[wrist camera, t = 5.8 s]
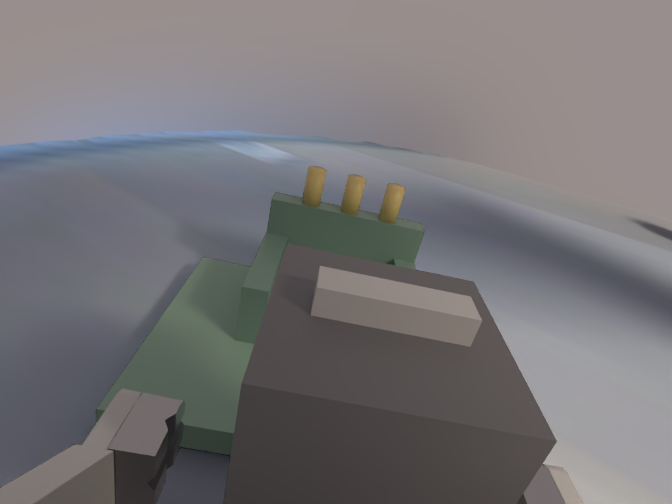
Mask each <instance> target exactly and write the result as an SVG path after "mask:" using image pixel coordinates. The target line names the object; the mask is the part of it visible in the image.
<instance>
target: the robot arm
mask: <svg viewBox="0 0 672 504" xmlns="http://www.w3.org/2000/svg"><path fill="white" fill-rule="evenodd" d="M184 412H185V401H182V400H178V399H173V398H168V397H163V396H158V395H153V394H149V393H143V392H138V391H132V390H127V389H122V390H120V391H119V392H118V393H117V394H116V395H115V397H114V398H113V400H112V401H111V403H110V404H109V406H108V407H107V409H106V410H105V411H104V413H103V414H102V416H101V417H100V419H99V420H98V422H97V423H96V425H95V426H94V428H93V429H92V431H91V432H90V433H89V435H88V436H87V438H86V439H85V441H84V442H83V444H82V445H77V444H74V445H73V446H71V447H69V448H68V449H66V450H64V451H62V452H61V453H59V454H57V455H56V456H54V457H52V458H50V459H49V460H47V461H45V462H44V463H42V464H40V465H38V466H37V467H35V468H33V469H32V470H30V471H28V472H26V473H25V474H23V475H21V476H20V477H18V478H16V479H14V480H13V481H11V482H9V483H8V484H6V485H4V486H2V487H1V488H0V504H156V503H157V501H158V498H159V496H160V494H161V491H162V489H163V487H164V485H165V482H166V469H168V468H169V467H170V466H172V465H173V463H174V461H175V459H176V456H177V454H178V451H179V447H180V444H181V441H182V436H183V430H184V424H183V422H182V421H181V419H182V417H183V414H184ZM517 504H583V502H582V500H581V498H580V496H579V494H578V492H577V490H576V488H575V486H574V485H573V483H572V481H571V479H570V477H569V475H568V473H567V472H566V471H565V470H564V469H563V468H562V467H557V466H551V465H545V464H542V465H541V467H540V468H539V470H538V471H537V473H536V475H535V476H534V478H533V479H532V481H531V482H530V484H529V485H528V487H527V488H526V490H525V492H524V493H523V495H522V496H521V498H520V499H519V501H518V502H517Z"/></svg>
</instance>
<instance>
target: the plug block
mask: <svg viewBox="0 0 672 504" xmlns="http://www.w3.org/2000/svg"><path fill="white" fill-rule="evenodd" d="M556 442H557V441H556V439H555V437H554V435H553V433H552V431H551V429H550V427H549V425H548V423H547V422H546V420H545V418H544V416H543V414H542V412H541V410H540V408H539V406H538V404H537V402H536V400H535V399H534V397H533V395H532V393H531V391H530V389H529V387H528V385H527V383H526V381H525V379H524V377H523V376H522V374H521V372H520V370H519V368H518V366H517V364H516V362H515V360H514V358H513V356H512V354H511V352H510V351H509V349H508V347H507V345H506V343H505V341H504V339H503V337H502V335H501V333H500V331H499V329H498V328H497V326H496V324H495V322H494V320H493V318H492V316H491V314H490V312H489V310H488V308H487V306H486V304H485V303H484V301H483V299H482V297H481V295H480V293H479V291H478V289H477V287H476V285H475V283H474V282H472V281H467V280H463V279H458V278H453V277H448V276H443V275H438V274H434V273H429V272H424V271H419V270H414V269H410V268H405V267H400V266H395V265H390V264H385V263H381V262H376V261H371V260H366V259H361V258H356V257H352V256H347V255H342V254H337V253H332V252H327V251H323V250H318V249H313V248H308V247H303V246H298V245H294V244H289V243H287V245H286V249H285V252H284V255H283V258H282V261H281V264H280V267H279V270H278V273H277V276H276V279H275V282H274V285H273V288H272V291H271V295H270V298H269V301H268V304H267V307H266V310H265V313H264V316H263V319H262V322H261V325H260V328H259V331H258V334H257V337H256V340H255V344H254V347H253V350H252V353H251V356H250V359H249V362H248V365H247V368H246V371H245V374H244V377H243V380H242V384H241V390H240V397H239V403H238V410H237V417H236V423H235V430H234V436H233V443H232V450H231V456H230V463H229V469H228V476H227V483H226V489H225V496H224V503H223V504H517V502H518V501H519V499H520V498H521V496H522V495H523V493H524V492H525V490H526V488H527V487H528V485H529V484H530V482H531V481H532V479H533V478H534V476H535V475H536V473H537V471H538V470H539V468H540V467H541V465H542V464H543V462H544V461H545V459H546V457H547V456H548V454H549V453H550V451H551V450H552V448H553V447H554V445H555V443H556Z"/></svg>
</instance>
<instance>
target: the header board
mask: <svg viewBox="0 0 672 504" xmlns="http://www.w3.org/2000/svg"><path fill="white" fill-rule="evenodd" d="M326 172H327V170H326V169H324V168H321V167H318V166H309V167H308V172H307V177H306V183H305V188H304V193H303V198H301V197H296V196H291V195H287V194H282V193H277V192H275V194H274V196H273V198H272V201H271V208H270V215H269V221H268V228H267V233H266V235H265V237H264V239H263V241H262V244H261V246H260V248H259V250H258V252H257V255H256V257H255V259H254V261H253V263H252V266H251V267H250V266H245V265H240V264H235V263H230V262H225V261H220V260H215V259H210V258H205V257H203V258H202V260H201V261H200V262H199V264H198V265H197V267H196V268H195V269H194V271H193V272H192V274H191V275H190V277H189V278H188V279H187V281H186V282H185V284H184V285H183V286H182V288H181V289H180V291H179V292H178V294H177V295H176V296H175V298H174V299H173V301H172V302H171V303H170V305H169V306H168V308H167V309H166V311H165V312H164V313H163V315H162V316H161V318H160V319H159V321H158V322H157V323H156V325H155V326H154V328H153V329H152V330H151V332H150V333H149V335H148V336H147V338H146V339H145V340H144V342H143V343H142V345H141V346H140V347H139V349H138V350H137V352H136V353H135V355H134V356H133V357H132V359H131V360H130V362H129V363H128V365H127V366H126V367H125V369H124V370H123V372H122V373H121V374H120V376H119V377H118V379H117V380H116V382H115V383H114V384H113V386H112V387H111V389H110V390H109V391H108V393H107V394H106V396H105V397H104V399H103V400H102V401H101V403H100V404H99V406H98V407H97V408H96V417H97V422H98V420H99V419H100V417H101V416H102V414H103V413H104V411H105V410H106V409H107V407H108V406H109V404H110V403H111V401H112V400H113V398H114V397H115V395H116V394H117V393H118V392H119V391H120V390H122V389H127V390H132V391H138V392H143V393H149V394H153V395H158V396H163V397H168V398H173V399H178V400H182V401H185V412H184V414H183V417H182V419H181V421H182V422H183V424H184V430H183V436H182V441H181V444H180V447H184V448H190V449H196V450H202V451H208V452H213V453H219V454H225V455H231V450H232V443H233V436H234V430H235V423H236V417H237V410H238V403H239V397H240V390H241V384H242V380H243V377H244V374H245V371H246V368H247V365H248V362H249V359H250V356H251V353H252V350H253V347H254V344H255V340H256V337H257V334H258V331H259V328H260V325H261V322H262V319H263V316H264V313H265V310H266V307H267V304H268V301H269V298H270V295H271V291H272V288H273V285H274V282H275V279H276V276H277V273H278V270H279V267H280V264H281V261H282V258H283V255H284V252H285V249H286V245H287V243H289V244H294V245H298V246H303V247H308V248H313V249H318V250H323V251H327V252H332V253H337V254H342V255H347V256H352V257H356V258H361V259H366V260H371V261H376V262H381V263H385V264H390V265H395V266H400V267H405V268H410V269H414V270H416V268H415V264H414V261H415V258H416V255H417V252H418V249H419V246H420V243H421V240H422V237H423V234H424V229H423V226H422V224H421V223H417V222H413V221H408V220H403V219H399V218H397V216H398V212H399V209H400V206H401V202H402V199H403V196H404V192H405V189H406V188H405V187H404V186H402V185H399V184H395V183H388V185H387V188H386V192H385V196H384V199H383V203H382V206H381V210H380V214H375V213H371V212H366V211H361V210H359V207H360V203H361V199H362V195H363V191H364V187H365V183H366V178H364V177H362V176H359V175H348V179H347V184H346V188H345V192H344V197H343V201H342V205H341V206H338V205H333V204H329V203H324V202H320V201H321V196H322V191H323V186H324V181H325V176H326Z"/></svg>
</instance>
